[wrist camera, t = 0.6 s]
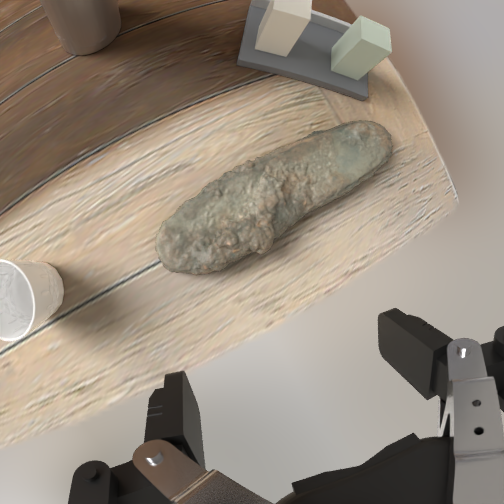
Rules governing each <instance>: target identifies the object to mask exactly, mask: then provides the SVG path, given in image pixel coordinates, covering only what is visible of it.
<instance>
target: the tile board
mask: <svg viewBox="0 0 504 504" xmlns="http://www.w3.org/2000/svg"><path fill="white" fill-rule="evenodd" d="M270 1H271V0H252V1H251V4H250V7H249V10H248V15H247V19H246V23H245V28H244V32H243V37H242V41H241V46H240V51H239V55H238V60H237V65H238V66H243V67H248V68H252V69H257V70H261V71H265V72H269V73H273V74H277V75H281V76H285V77H289V78H292V79H296V80H300V81H303V82H306V83H310V84H313V85H316V86H320V87H323V88H326V89H329V90H332V91H335V92H338V93H341V94H344V95H347V96H350V97H353V98H355V99H358V100H361V101H364V100H365V99H367V98H368V72H367V73H366V74H365V75H364V76H363V77H361V78H360V79H359V80H355V79H352V78H350V77H347V76H344V75H341V74H339V73H336V72H333V71H331V50H332V47H333V46H334V45H335V44H336V43H337V41H338V40H339V39H340V38H341V37H342V36H343V35H344V33H345V32H346V31H347V30H348V29H349V28H350V27H351V26H352V24H349V23H347V22H344V21H341V20H339V19H336V18H334V17H331V16H328V15H325V14H322V13H319V12H316V11H313V10H311V19H310V21H309V23H308V24H307V26H306V27H305V29H304V30H303V32H302V33H301V35H300V36H299V38H298V40H297V41H296V43H295V44H294V46H293V47H292V49H291V50H290V52H289V54H288V55H287V57H284V56H280V55H276V54H272V53H268V52H264V51H260V50H256V49H255V45H256V39H257V34H258V29H259V25H260V23H261V21H262V19H263V16H264V14H265V12H266V10H267V7H268V5H269V3H270Z"/></svg>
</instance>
